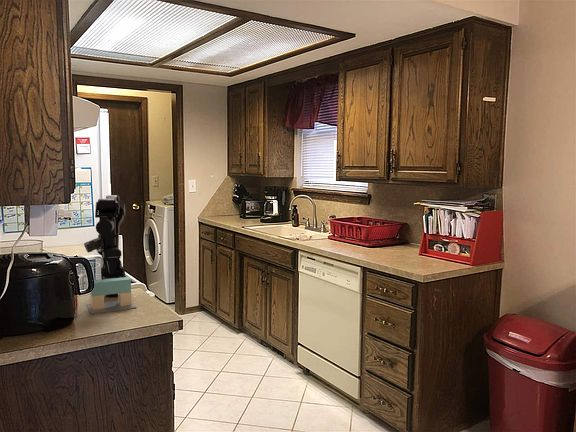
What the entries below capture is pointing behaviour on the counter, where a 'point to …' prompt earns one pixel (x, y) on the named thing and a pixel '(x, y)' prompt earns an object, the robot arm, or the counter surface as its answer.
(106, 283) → the teal beam
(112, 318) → the counter surface
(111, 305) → the bridge base
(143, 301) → the counter surface
